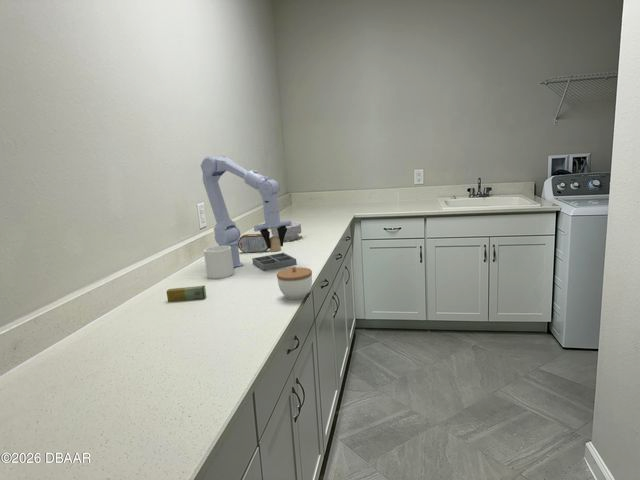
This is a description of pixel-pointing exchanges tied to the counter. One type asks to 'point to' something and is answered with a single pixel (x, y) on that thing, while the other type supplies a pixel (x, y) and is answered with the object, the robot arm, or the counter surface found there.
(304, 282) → the lidded jar
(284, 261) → the grey compartment tray
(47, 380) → the counter surface
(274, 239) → the egg
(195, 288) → the medication box
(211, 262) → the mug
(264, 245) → the tin
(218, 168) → the robot arm
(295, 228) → the paper bowls
